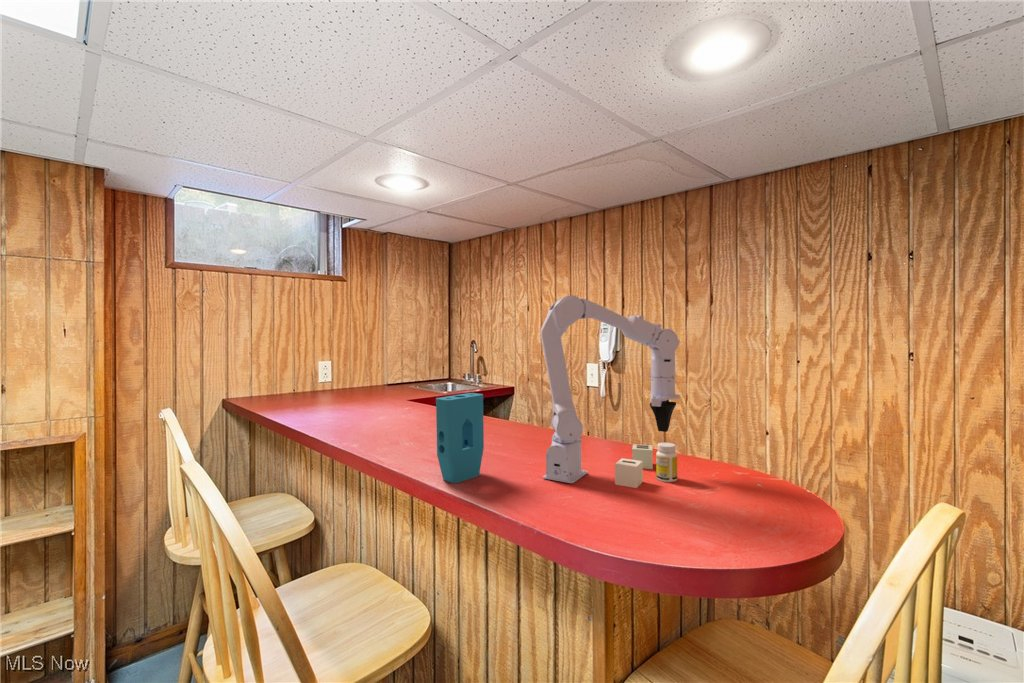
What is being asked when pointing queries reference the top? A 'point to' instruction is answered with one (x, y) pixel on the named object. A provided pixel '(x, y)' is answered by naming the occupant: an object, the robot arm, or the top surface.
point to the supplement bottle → (666, 462)
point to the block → (460, 436)
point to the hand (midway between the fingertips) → (663, 431)
